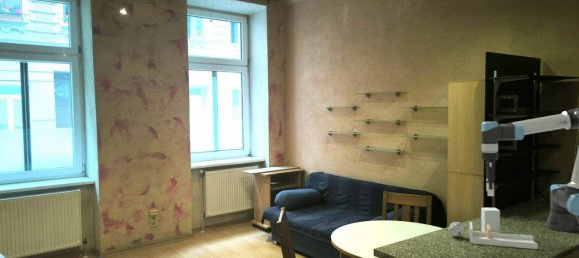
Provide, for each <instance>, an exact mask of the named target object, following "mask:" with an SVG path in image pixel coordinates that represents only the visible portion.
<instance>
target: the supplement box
mask: <svg viewBox="0 0 579 258" xmlns="http://www.w3.org/2000/svg"><path fill="white" fill-rule="evenodd" d="M480 211H481V212H480V216H481V226H480V227H481V231H480V232H487V224H489V225H490V229H491V232H492V233H501V210H500V209H498V208H497V207H481V208H480Z"/></svg>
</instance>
